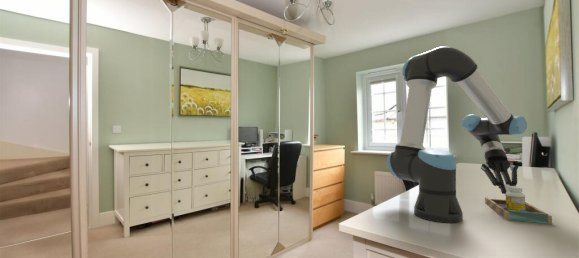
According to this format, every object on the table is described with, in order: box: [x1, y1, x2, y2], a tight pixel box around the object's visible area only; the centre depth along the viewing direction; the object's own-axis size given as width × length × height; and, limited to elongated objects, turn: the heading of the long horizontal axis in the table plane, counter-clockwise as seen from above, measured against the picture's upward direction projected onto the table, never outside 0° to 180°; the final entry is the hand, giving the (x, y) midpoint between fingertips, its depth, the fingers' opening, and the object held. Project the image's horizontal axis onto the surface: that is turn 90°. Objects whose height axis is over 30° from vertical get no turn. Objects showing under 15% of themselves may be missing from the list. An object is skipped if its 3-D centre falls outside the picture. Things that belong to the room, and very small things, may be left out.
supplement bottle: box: [505, 185, 526, 212], centre depth 95 cm, size 5×5×10 cm
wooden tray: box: [484, 196, 553, 225], centre depth 96 cm, size 22×12×3 cm, turn 158°
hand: (511, 200), depth 99 cm, fingers closed
